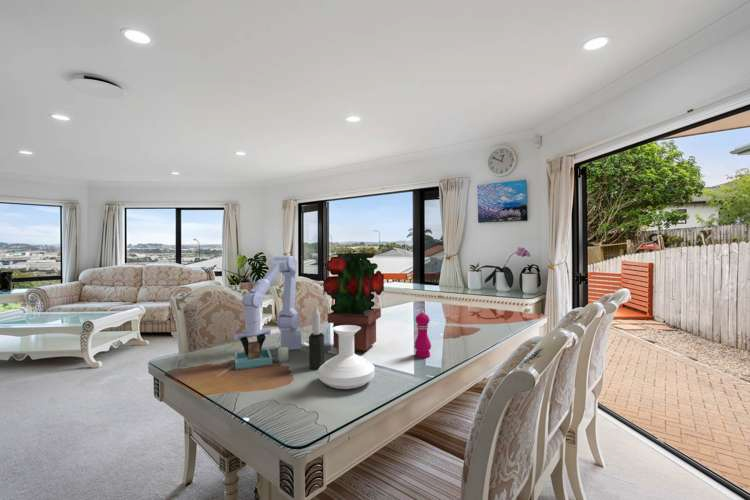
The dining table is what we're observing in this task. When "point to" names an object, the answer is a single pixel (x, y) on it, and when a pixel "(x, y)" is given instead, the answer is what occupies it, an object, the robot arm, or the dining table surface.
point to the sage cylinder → (283, 354)
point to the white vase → (346, 363)
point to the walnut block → (253, 350)
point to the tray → (252, 360)
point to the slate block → (271, 350)
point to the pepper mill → (422, 336)
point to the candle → (316, 343)
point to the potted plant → (354, 296)
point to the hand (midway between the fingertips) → (253, 353)
